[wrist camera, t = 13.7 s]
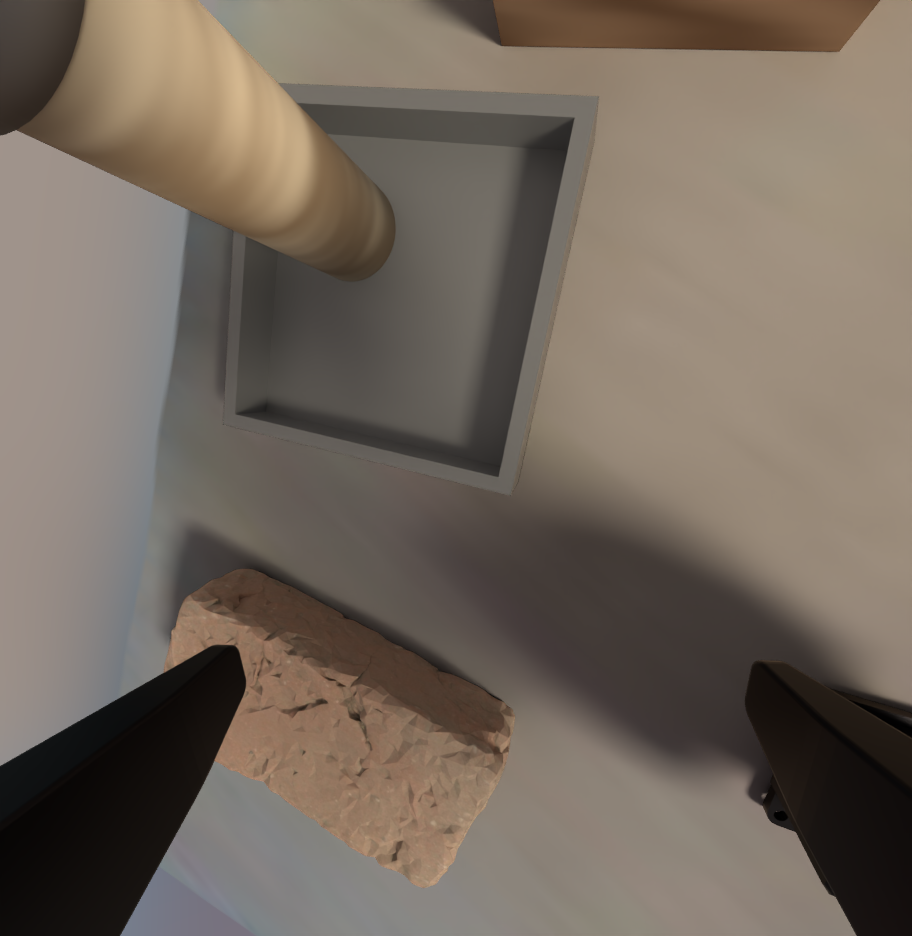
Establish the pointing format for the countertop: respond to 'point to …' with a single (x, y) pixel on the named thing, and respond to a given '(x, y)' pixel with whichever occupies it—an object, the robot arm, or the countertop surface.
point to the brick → (350, 723)
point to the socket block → (682, 23)
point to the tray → (420, 286)
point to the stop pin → (189, 125)
